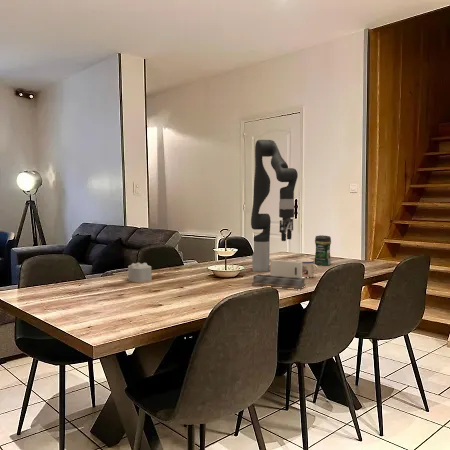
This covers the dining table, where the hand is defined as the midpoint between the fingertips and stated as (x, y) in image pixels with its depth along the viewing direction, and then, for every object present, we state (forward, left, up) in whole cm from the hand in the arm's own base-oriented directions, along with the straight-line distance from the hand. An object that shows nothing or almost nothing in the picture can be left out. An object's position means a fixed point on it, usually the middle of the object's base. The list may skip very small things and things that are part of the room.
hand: (286, 240), depth 226 cm
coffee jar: (+3, +61, -22) cm, 65 cm away
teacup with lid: (+6, +18, -22) cm, 29 cm away
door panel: (0, 0, -22) cm, 22 cm away
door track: (0, -11, -22) cm, 24 cm away
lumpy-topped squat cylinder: (-72, -27, -22) cm, 80 cm away
